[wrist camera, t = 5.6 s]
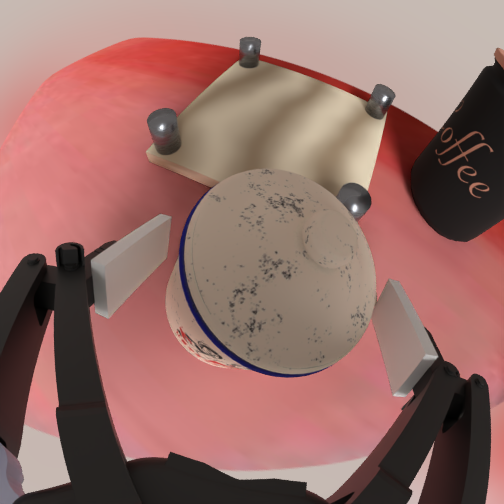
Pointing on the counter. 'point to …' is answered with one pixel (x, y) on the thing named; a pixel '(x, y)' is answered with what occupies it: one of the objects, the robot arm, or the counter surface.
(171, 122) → the set of grey pegs
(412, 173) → the coffee jar
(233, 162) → the birch board
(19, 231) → the counter surface
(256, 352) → the teacup with lid
